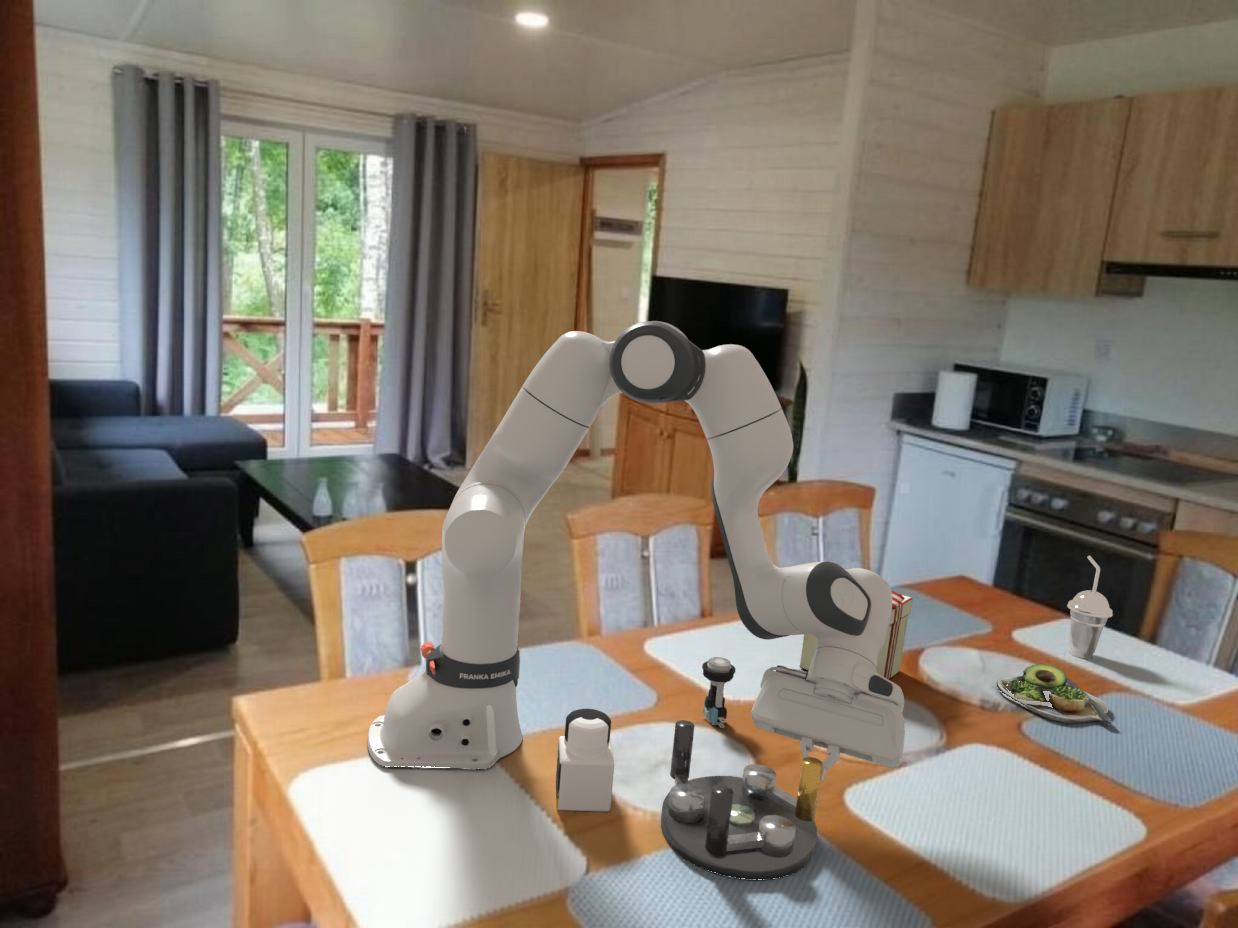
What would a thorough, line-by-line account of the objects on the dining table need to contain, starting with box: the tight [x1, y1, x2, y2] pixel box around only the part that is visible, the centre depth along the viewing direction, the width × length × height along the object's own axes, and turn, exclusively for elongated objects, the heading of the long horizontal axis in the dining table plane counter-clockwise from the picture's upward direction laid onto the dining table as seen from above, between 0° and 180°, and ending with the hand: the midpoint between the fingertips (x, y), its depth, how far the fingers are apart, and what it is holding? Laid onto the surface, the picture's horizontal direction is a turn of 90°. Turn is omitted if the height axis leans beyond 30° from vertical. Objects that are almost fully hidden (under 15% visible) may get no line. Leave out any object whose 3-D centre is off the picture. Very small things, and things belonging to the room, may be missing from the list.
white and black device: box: [555, 708, 615, 813], centre depth 125 cm, size 7×7×12 cm
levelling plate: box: [660, 775, 818, 881], centre depth 121 cm, size 20×20×3 cm
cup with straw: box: [1066, 555, 1114, 660], centre depth 192 cm, size 8×9×20 cm
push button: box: [701, 656, 736, 729], centre depth 150 cm, size 7×5×10 cm
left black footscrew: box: [668, 719, 704, 823], centre depth 123 cm, size 12×4×8 cm, turn 2°
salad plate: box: [996, 663, 1113, 724], centre depth 168 cm, size 19×18×5 cm
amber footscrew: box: [741, 756, 823, 821], centre depth 123 cm, size 12×4×8 cm, turn 41°
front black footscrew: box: [705, 785, 796, 857], centre depth 113 cm, size 12×4×8 cm, turn 107°
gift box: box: [799, 589, 914, 680], centre depth 175 cm, size 17×18×17 cm
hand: (812, 777), depth 122 cm, fingers closed, pressing on amber footscrew
